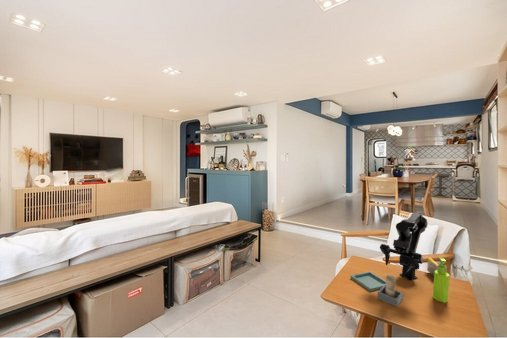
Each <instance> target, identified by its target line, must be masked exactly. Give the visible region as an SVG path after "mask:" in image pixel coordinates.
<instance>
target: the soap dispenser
mask: <svg viewBox="0 0 507 338" xmlns="http://www.w3.org/2000/svg"><path fill="white" fill-rule="evenodd" d="M436 258H437V259H438V260H439V261H440V263H439V264H438V270H436V271H434V276H433V287H432V298H433V299H434V300H436V302H439V303H449V288H450V275H451V274H450V273H448V272H447V269H448V268H447V266H446V263H447V260H446V259H445V258H444V257H440V256H437V257H436Z"/></svg>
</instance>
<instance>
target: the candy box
mask: <svg viewBox="0 0 507 338" xmlns="http://www.w3.org/2000/svg"><path fill="white" fill-rule="evenodd" d="M438 265H439V264H438V263H437V262H436V261H435V260H434V259H433V258H432V257H427V267H426V269H427V272H428V273H429V274H430V275H432V277H434V271H436V270H438Z"/></svg>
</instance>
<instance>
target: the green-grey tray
mask: <svg viewBox="0 0 507 338" xmlns="http://www.w3.org/2000/svg"><path fill="white" fill-rule="evenodd" d="M350 280H351V281H354V282H356V283H357V284H359V285H360V286H362V287H364V289H366V290H368V291H369V292H375V291H379V290H380V289H381V288H382V287H383V286H386V279H384V278H382V277H380V276H379V275H377V274H375V273H373V272H372V271H370V270H369V271H365V272H360V273H356V274H355V273H354V274H350Z"/></svg>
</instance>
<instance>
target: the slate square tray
mask: <svg viewBox="0 0 507 338" xmlns="http://www.w3.org/2000/svg"><path fill="white" fill-rule="evenodd" d="M385 294H386V286H383V287H382V288H381V289H378V290H377V294H376V295H377V300H379V301H382V302H384V303H387V304H389V305H390V306H391V305H392V306H394V307H396V308H398V306H399V305H400V303H401V302H402V301H403V300H404V299H403V298H404V292H401V291H399V290H396V289H395V298H393V297H390V296H388V295H385Z"/></svg>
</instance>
